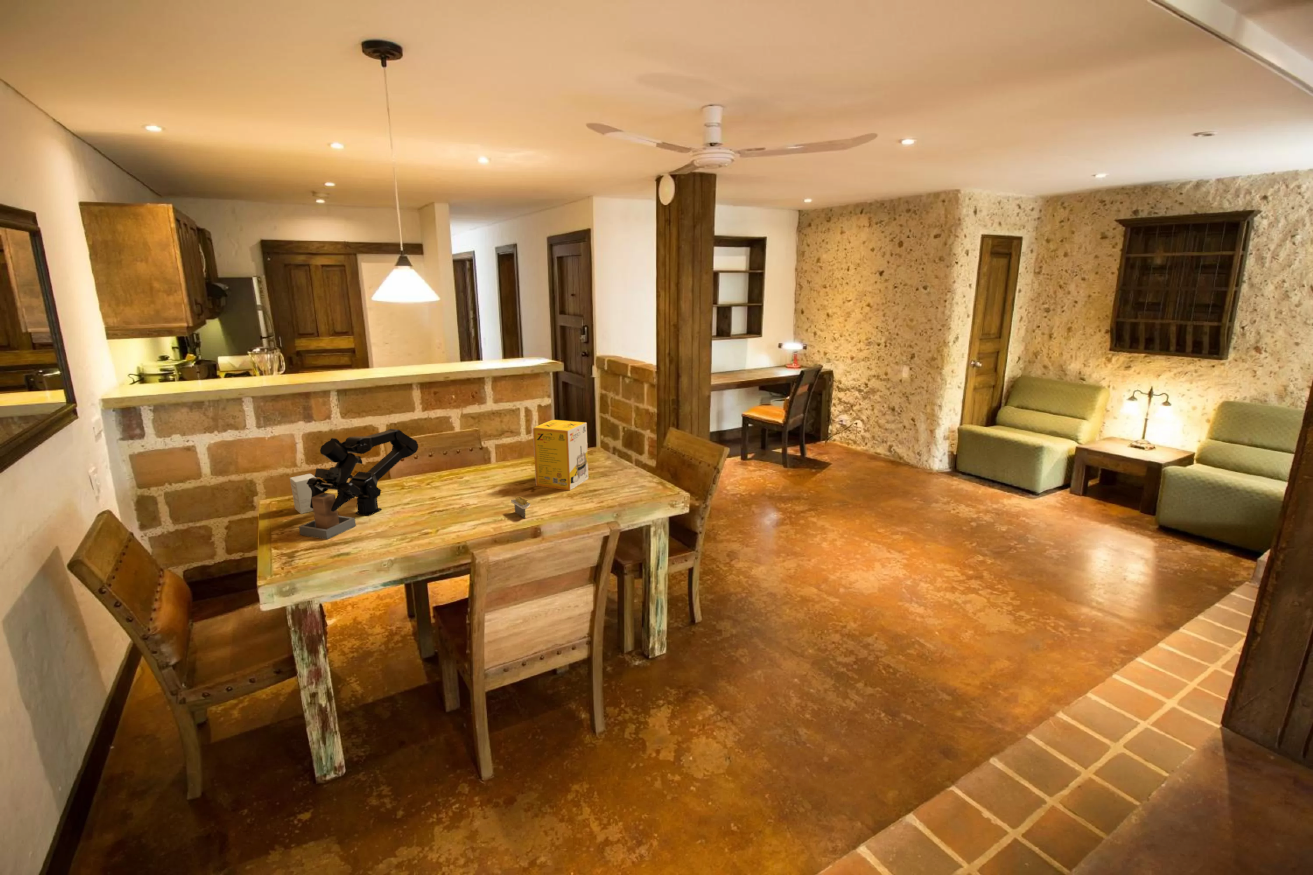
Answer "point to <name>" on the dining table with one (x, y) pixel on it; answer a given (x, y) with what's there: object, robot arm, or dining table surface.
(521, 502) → the platform
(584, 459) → the packaging box
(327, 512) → the block
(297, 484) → the supplement box
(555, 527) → the dining table surface
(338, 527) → the tray
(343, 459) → the robot arm
